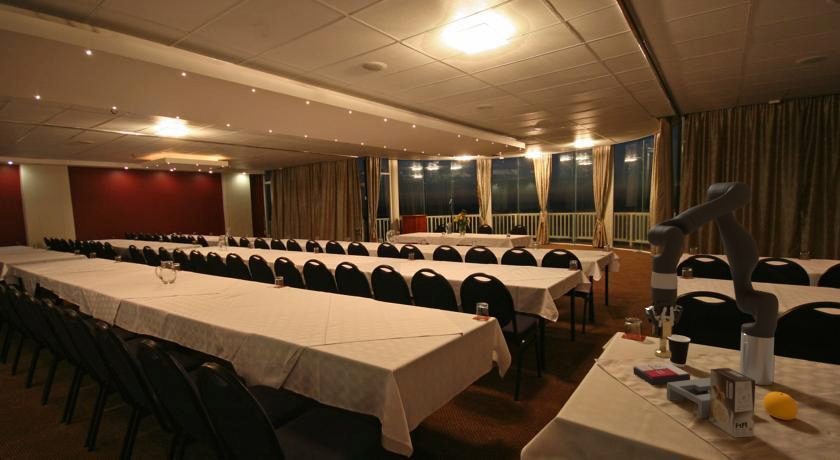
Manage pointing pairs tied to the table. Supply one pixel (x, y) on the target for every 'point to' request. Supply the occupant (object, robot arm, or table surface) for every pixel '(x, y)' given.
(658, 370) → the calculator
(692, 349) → the table surface
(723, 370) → the coffee box
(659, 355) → the peg
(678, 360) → the dixie cup
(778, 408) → the orange
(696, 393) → the keyhole plate
